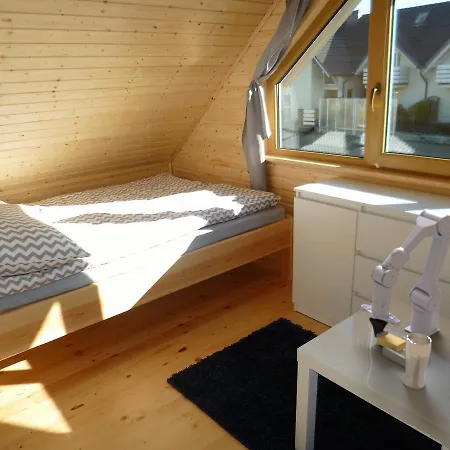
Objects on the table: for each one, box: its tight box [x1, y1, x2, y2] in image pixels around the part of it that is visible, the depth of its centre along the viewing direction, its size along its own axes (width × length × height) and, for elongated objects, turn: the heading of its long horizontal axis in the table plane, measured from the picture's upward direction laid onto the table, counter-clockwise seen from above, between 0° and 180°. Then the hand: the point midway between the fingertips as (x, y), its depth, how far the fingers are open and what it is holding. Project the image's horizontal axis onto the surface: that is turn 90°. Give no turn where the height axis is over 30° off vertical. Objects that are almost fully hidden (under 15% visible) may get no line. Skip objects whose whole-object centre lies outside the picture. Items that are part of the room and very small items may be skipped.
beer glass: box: [402, 332, 432, 390], centre depth 136 cm, size 7×7×15 cm
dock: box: [371, 335, 407, 369], centre depth 153 cm, size 14×11×4 cm
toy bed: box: [376, 329, 406, 352], centre depth 154 cm, size 8×5×4 cm, turn 34°
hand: (377, 336), depth 159 cm, fingers closed
